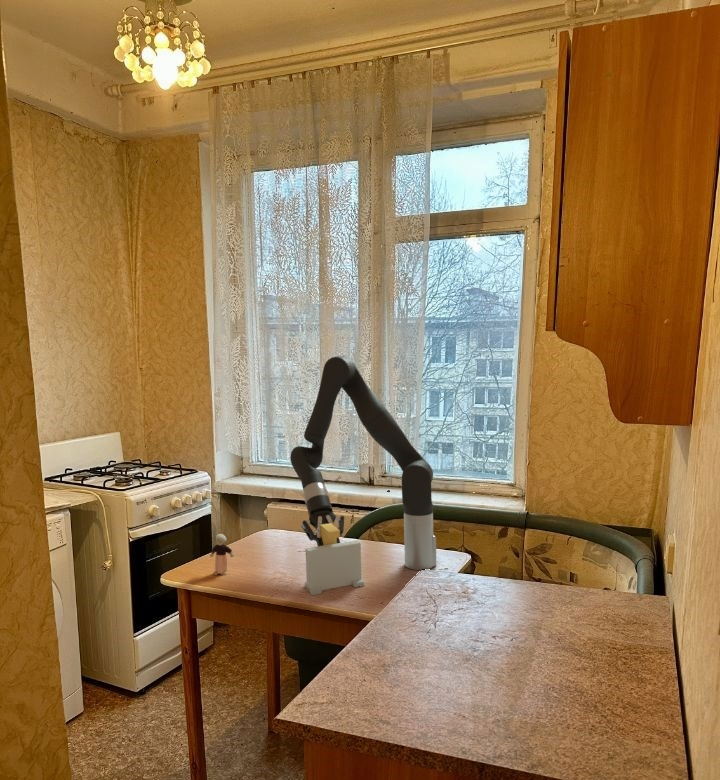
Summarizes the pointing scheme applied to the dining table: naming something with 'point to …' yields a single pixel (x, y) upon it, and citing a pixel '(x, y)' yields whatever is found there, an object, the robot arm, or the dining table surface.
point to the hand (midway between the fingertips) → (330, 549)
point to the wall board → (333, 566)
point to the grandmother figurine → (221, 555)
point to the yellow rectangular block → (329, 534)
